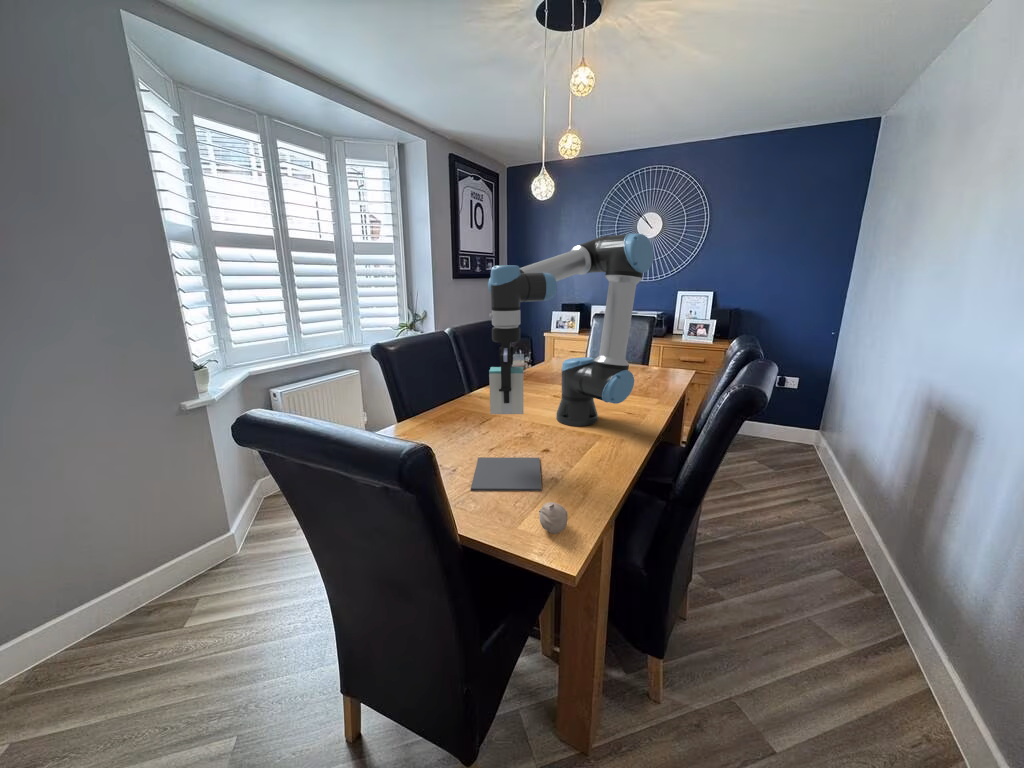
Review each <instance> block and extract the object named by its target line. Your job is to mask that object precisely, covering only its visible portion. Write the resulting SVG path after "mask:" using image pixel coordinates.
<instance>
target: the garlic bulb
mask: <svg viewBox="0 0 1024 768" xmlns="http://www.w3.org/2000/svg"><path fill="white" fill-rule="evenodd" d="M538 512H539V513H538V516H539V522H540V525H541V527H542V529H544V530H545V531H547V532H548V533H550V534H553V535H555V534H557V535H558V534H560V533H562V532H563V531H564V530H565V529H566V527H567V525H568V519H569V518H568V517H569V516H568V510H567V509H566V508H565V507H564V506H563V505H562V504H559V503H557V502H554V501H550V502H545V503H544V504H543V505H542V506H541V508H540V509H539V511H538Z"/></svg>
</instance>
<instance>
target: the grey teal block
mask: <svg viewBox="0 0 1024 768" xmlns="http://www.w3.org/2000/svg"><path fill="white" fill-rule="evenodd" d="M489 368H490V369H489V370H488V373H489V374H488V377H489V378H488V379H489V381H488V382H489V408H490V410H489V414H490V415H503V414H502V394H501V391H499V389H501V366H491V367H489ZM511 388H512V414H511V415H524V408H525V407H524V366H512V367H511Z"/></svg>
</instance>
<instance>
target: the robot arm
mask: <svg viewBox="0 0 1024 768" xmlns="http://www.w3.org/2000/svg"><path fill="white" fill-rule="evenodd" d="M653 263H654V248H653V244H652V243H651V240H650V238H648V236H647V235H645V234H643V233H631V232H629V233H626V234H623V233H622V234H615V235H603V236H600V237H597V238H594V239H591V240H589V241H586V242H584V243H581V244H578V245H576V246H573V247H572V249H571V250H569V251H567V252H564V253H562V254H558V255H556V256H552V257H549V258H546V259H543V260H540V261H538V262H534V263H530V264H528V265H525V266H523V267H520V266H519V265H514V264H513V265H511V264H509V265H507V264H506V265H493V266H492V267H491V269H490V277H489V279H488V282H487V287H488V288H487V289H488V291H489V294H490V304H491V305H490V308H491V313H489V318H491V325H492V326H493V327H492V328H491V340H492V342H494V343H497V344H498V343H501V347H499V349H498V356H499V365H500V367H501V389H499V391H501V394H502V414H501V415H513V414H512V388H511V367H513V364H514V363H513V362H514V354H515V347H513V346H512V343H518V342H519V341H521V327H520V325H521V303H528V302H530V303H531V302H542V303H543V302H544V301H550V300H552V299H553V298H555V296H556V293H557V290H558V289H557V287H558V286H557V285H558V284H557V283H558V281H561V280H562V281H563V280H565V279H567V278H569V277H572V276H575V275H578V276H579V275H580V276H583V275H586V274H590V273H591V274H592V273H604V275H605V276H604V277H605V278H606V280H607V281H608V288H607V293H606V294H607V295H606V303H605V309H604V317H603V323H602V324H603V325H602V329H601V330H602V331H601V338H600V339H601V340H600V345H599V352H598V353H599V354H598V356H597V357H596V358H594V357H591V356H589V357H588V356H585V357H584V356H583V357H573V358H572V357H570V358H566V359H565V360H563V362H562V366H561V398H560V402H559V405H558V407H557V410H556V415H555V416H556V421H557V422H559V423H561V424H564V425H567V426H571V427H572V426H573V427H587V426H591V425H594V424H596V423H598V418H599V417H598V416H599V415H598V414H599V413H598V411H597V408H596V404H595V400H594V399H597V400H600V401H602V402H605V403H609V404H615V405H617V404H621V403H623V402H624V401H626V400H627V398H628V397H629V396H630V395H631V394H632V391H633V388H634V384H635V377H634V374H633V373H632V372H631V371H630V370H629V367H630V363H629V362H628V361H627V360H626V357H627V356H626V355H627V349H628V342H629V337H630V331H631V329H630V328H631V323H632V316H633V308H634V304H635V303H634V302H635V296H636V289H637V285H638V284H639V283H640V282H642V280H643V278H644V277H643V276H644V275H643V274H644V273H646V272H648V271H650V269H651V267H652V265H653Z"/></svg>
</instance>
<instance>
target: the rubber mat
mask: <svg viewBox="0 0 1024 768" xmlns="http://www.w3.org/2000/svg"><path fill="white" fill-rule="evenodd" d="M540 460H541V459H540V457H505V456H504V457H499V456H498V457H491V456H490V457H486V456H485V457H482V456H481V457H477V462H476V466H475V469H474V473H473V476H472V477H473V478H472V482H471V486H470V491H471V492H472V491H474V492H475V491H478V492H479V491H480V492H481V491H482V492H483V491H484V492H488V491H489V492H491V491H492V492H496V491H498V492H499V491H501V492H502V491H503V492H506V491H507V492H509V491H510V492H511V491H512V492H514V491H515V492H516V491H517V492H520V491H521V492H542V489H543V487H542V477H541V476H542V475H541V463H540V462H541V461H540Z"/></svg>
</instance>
